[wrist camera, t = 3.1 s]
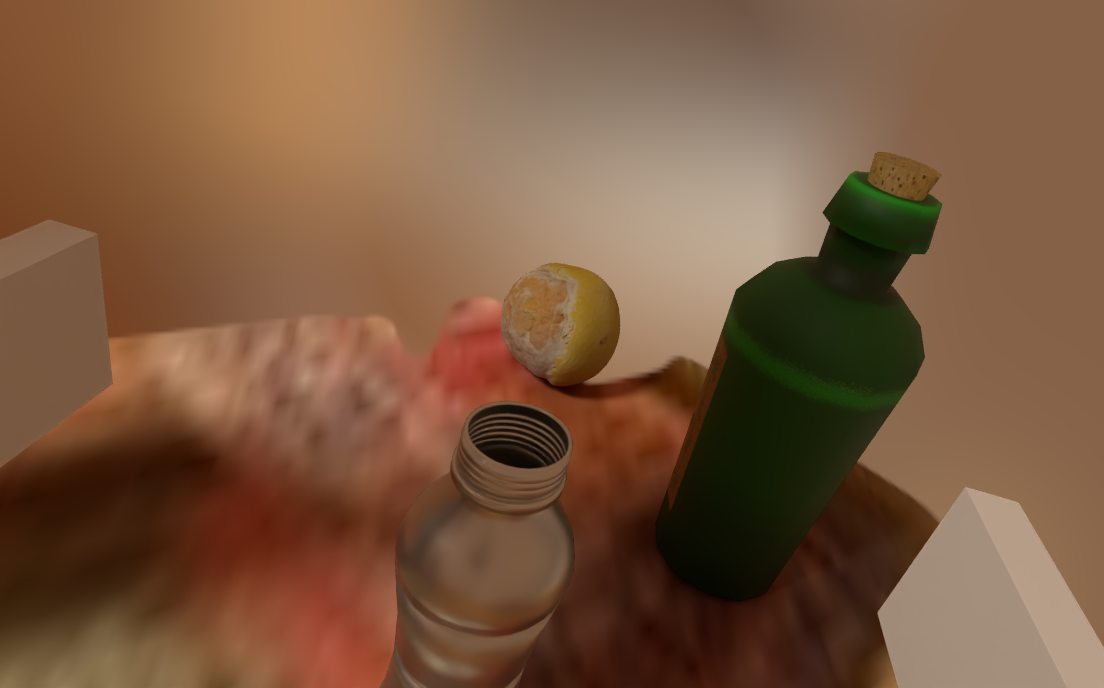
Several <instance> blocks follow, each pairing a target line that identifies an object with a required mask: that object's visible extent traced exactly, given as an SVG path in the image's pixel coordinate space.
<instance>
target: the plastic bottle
mask: <svg viewBox="0 0 1104 688" xmlns="http://www.w3.org/2000/svg"><path fill="white" fill-rule="evenodd" d="M572 449H573V440H572V436H571V433H570V431H569V429H568V428H567V427H566V426H565V424H564V423H563V422H562V421H561V420H560V419H558V418H557V417H556V416H554V415H553V414H551V413H550V412H548V411H546V410H544V409H542V408H540V407H537V406H534V405H531V404H527V403H522V402H514V401H499V402H492V403H488V404H485V405H482V406H480V407H478V408H477V409H475V410H474V411H473V412H471V413H470V415H469V416H468V417H467V419H466V421H465V423H464V425H463V428H462V432H461V437H460V441H459V444H458V446H457V447H456V449H455V451H454V454H453V457H452V461H451V465H450V472H449V473H448V474H446V475H444V476H443V477H441V478H440V479H439V480H437V481H436V482H434V483H433V484H432V485H430V486H429V487H428V488H426V489H425V490H424V491H423V492H422V493H421V494H420V495H419V496H418V497H417V498H416V500H415V501H414V503H413V504H412V506H411V507H410V509H409V510H408V512H407V514H406V515H405V517H404V519H403V520H402V522H401V525H400V527H399V530H398V533H397V540H396V555H395V567H396V569H395V572H396V592H397V611H398V614H397V624H396V634H395V646H394V651H393V654H392V658H391V661H390V664H389V667H388V670H387V673H386V677H385V679H384V681H383V683H382V684H381V686H380V688H519V684H520V679H521V675H522V673H523V671H524V668H525V665H526V664H527V661H528V659H529V657H530V654H531V652H532V650H533V647H534V645H535V642H536V641H537V639H538V637H539V636H540V634H541V632H542V631H543V629H544V627H545V626H546V624H547V622H548V621H549V619H550V617H551V616H552V614H553V612H554V611H555V609H556V607H557V606H558V604H559V602H560V601H561V599H562V598H563V595H564V593H565V591H566V589H567V587H568V585H569V582H570V579H571V577H572V574H573V571H574V560H575V553H574V539H573V533H572V528H571V525H570V523H569V521H568V518H567V516H566V514H565V511H564V509H563V507H562V505H561V502H560V500H559V497H560V495H561V493H562V491H563V488H564V485H565V482H566V475H567V473H566V470H567V467H568V464H569V461H570V458H571V456H572Z"/></svg>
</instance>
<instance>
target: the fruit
mask: <svg viewBox="0 0 1104 688" xmlns="http://www.w3.org/2000/svg"><path fill="white" fill-rule="evenodd" d="M501 330H502V335H503V337H504V341H505V343H506V346H507V348H508V350H509V352H510V354H512V356H513V357H514V358H515V359H517V360H518V362H519V363H520V364H521V365H522V366H524V367H526V368H527V369H528V370H530V371H531V372H532V373H533V374H534V375H535V376H537V377H540V378H545V379H547V380H548V381H549V382H550V383H551V384H552V385H554V386H570V385H575V384H578V383H581V382H584V381H586V380H589V379H590V378H592V377H594V376H595V375H596V374H598V373H599V372H600V371H601V370H602V369H603V368H604V367H605V366H606V365H607V363H608V362H609V360H610V359H611V357H612V355H613V353H614V351H615V348H616V346H617V343H618V339H619V333H620V315H619V308H618V304H617V301H616V298H615V295H614V293H613V291H612V289H611V288H610V287H609V286H608V285H607V283H606V282H605V281H603V279H601V278H600V277H599V276H598V275H596V274H595V273H593V272H591V271H589V270H586V269H583V268H580V267H575V266H570V265H565V264H559V263H549V264H545V265H542V266H541V267H539V268H537V269H536V270H534V271H531V272H529V273H526V274H525V275H524V276H523V277H522V278H520V279H519V280H518V281H517V282H516V283H515V284H514V286H513V287H512V289H511V290H510V292H509V293H508V294H507V295H506V298H505V300H504V305H503V311H502V316H501Z"/></svg>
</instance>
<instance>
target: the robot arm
mask: <svg viewBox="0 0 1104 688" xmlns="http://www.w3.org/2000/svg"><path fill="white" fill-rule="evenodd" d="M112 384H113V382H112V372H111V362H110V353H109V343H108V334H107V324H106V314H105V306H104V296H103V286H102V276H101V266H100V257H99V248H98V237H97V233H93V232H90V231H87V230H83V229H80V228H76V227H73V226H69V225H66V224H63V223H59V222H55V221H52V220H47V221H44V222H42V223H39V224H37V225H35V226H32V227H30V228H28V229H25V230H23V231H20V232H18V233H16V234H13V235H11V236H8V237H6V238H4V239H1V240H0V468H1V467H2V466H3V465H5V464H6V463H7V462H9V461H10V460H11V459H13V458H14V457H15V456H17V455H18V454H19V453H21V452H22V451H23V450H25V449H26V448H27V447H29V446H30V445H31V444H33V443H34V442H35V441H37V440H38V439H39V438H41V437H42V436H43V435H45V434H46V433H47V432H49V431H50V430H51V429H53V428H54V427H55V426H57V425H58V424H59V423H61V422H62V421H63V420H65V419H66V418H68V417H69V416H70V415H72V414H73V413H74V412H76V411H77V410H78V409H80V408H81V407H82V406H84V405H85V404H86V403H88V402H89V401H90V400H92V399H93V398H94V397H96V396H97V395H98V394H100V393H101V392H102V391H104V390H105V389H106V388H108V387H109V386H110V385H112ZM878 617H879V620H880V624H881V628H882V631H883V635H884V638H885V642H886V646H887V649H888V653H889V656H890V660H891V664H892V667H893V671H894V675H895V678H896V682H897V685H898V688H1104V647H1103V646H1102V644H1101V642H1100V640H1099V639H1098V637H1097V635H1096V634H1095V632H1094V630H1093V628H1092V627H1091V625H1090V624H1089V622H1088V620H1087V618H1086V617H1085V615H1084V613H1083V611H1082V610H1081V608H1080V606H1079V605H1078V603H1077V601H1076V600H1075V598H1074V597H1073V594H1072V593H1071V591H1070V589H1069V588H1068V586H1067V584H1066V582H1065V581H1064V579H1063V577H1062V576H1061V574H1060V572H1059V571H1058V569H1057V567H1056V565H1055V564H1054V562H1053V560H1052V559H1051V557H1050V555H1049V554H1048V552H1047V550H1046V548H1045V547H1044V545H1043V543H1042V542H1041V540H1040V538H1039V537H1038V535H1037V533H1036V531H1035V530H1034V528H1033V526H1032V525H1031V523H1030V521H1029V519H1028V518H1027V516H1026V514H1025V513H1024V511H1023V509H1022V508H1021V506H1020V504H1019V503H1018V502H1016V501H1012V500H1008V499H1005V498H1002V497H998V496H995V495H992V494H988V493H984V492H981V491H978V490H974V489H971V488H968V487H965V488H964V489H963V491H962V492H961V494H960V495H959V497H958V498H957V499H956V501H955V502H954V504H953V505H952V507H951V508H950V509H949V511H948V512H947V514H946V515H945V517H944V518H943V519H942V521H941V522H940V524H939V525H938V527H937V528H936V530H935V531H934V532H933V534H932V535H931V537H930V538H929V540H928V541H927V542H926V544H925V545H924V547H923V548H922V550H921V551H920V552H919V554H918V555H917V557H916V558H915V560H914V561H913V563H912V564H911V565H910V567H909V568H908V570H907V571H906V573H905V574H904V575H903V577H902V578H901V580H900V581H899V583H898V584H897V585H896V587H895V588H894V590H893V591H892V593H891V594H890V596H889V597H888V598H887V600H886V601H885V603H884V604H883V606H882V607H881V608H880V610H879V611H878Z"/></svg>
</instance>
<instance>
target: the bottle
mask: <svg viewBox="0 0 1104 688" xmlns="http://www.w3.org/2000/svg"><path fill="white" fill-rule="evenodd" d="M940 176H941V174H940V173H939V172H938V171H936V170H935V169H933V168H931V167H928V166H926V165H924V164H922V163H920V162H917V161H914V160H911V159H909V158H906V157H902V156H898V155H895V154H891V153H884V152H877V153H875V155H874V159H873V162H872V166H871V169H870V172H859V171H855V172H853V173H851V174H850V175H849V176H848V178H847V179H846V180H845V182H844V183H843V185H842V186H841V188H840V189H839V190H838V192H837V193H836V194H835V196H834V197H833V199H832V200H831V202H830V203H829V204H828V205H827V207H826V208H825V210H824V211H823V214H824V215H825V217H826V218H827V219H828V221H829V222H830V225H829V228H828V231H827V234H826V236H825V239H824V242H823V245H822V247H821V250H820V253H819V256H818V257H801V258H795V259H789V260H784V261H778V262H775V263H774V264H772V265H771V266H769V267H768V268H766V269H765V270H763V271H762V272H760V273H759V274H757V275H756V276H754V277H753V278H751V279H750V280H748V281H747V282H746V283H745V284H743V285H742V286H740V287H739V288H738V289H737V290H736V292H735V295H734V297H733V301H732V303H731V306H730V309H729V312H728V315H727V318H726V321H725V323H724V326H723V329H722V332H721V335H720V338H719V341H718V344H717V347H716V350H715V353H714V355H713V358H712V361H711V364H710V367H709V370H708V373H707V376H706V379H705V381H704V384H703V387H702V390H701V393H700V396H699V399H698V402H697V405H696V408H695V410H694V413H693V416H692V419H691V422H690V425H689V428H688V431H687V434H686V437H685V439H684V442H683V445H682V448H681V451H680V454H679V457H678V460H677V463H676V466H675V468H674V471H673V474H672V477H671V480H670V483H669V486H668V489H667V492H666V495H665V497H664V500H663V503H662V506H661V509H660V512H659V515H658V518H657V521H656V534H657V547H658V548H659V550H660V551H661V553H662V554H663V556H664V557H665V559H666V560H667V561H668V563H669V564H670V566H671V567H672V569H673V570H674V572H675V573H676V574H678V575H679V576H681V577H682V578H684V579H685V580H687V581H688V582H690V583H691V584H693V585H694V586H696V587H697V588H699V589H700V590H702V591H703V592H705V593H707V594H711V595H716V596H720V597H725V598H729V599H733V600H738V601H741V600H744V599H748V598H751V597H755V596H758V595H761V594H765V593H766V592H767V590H768V589H769V587H770V586H771V584H772V583H773V582H774V580H775V579H776V577H777V576H778V574H779V573H780V571H781V570H782V569H783V567H784V566H785V564H786V563H787V561H788V560H789V558H790V557H791V556H792V554H793V553H794V551H795V550H796V548H797V547H798V546H799V544H800V543H801V541H802V540H803V538H804V537H805V535H806V534H807V533H808V531H809V530H810V528H811V527H812V525H813V524H814V522H815V521H816V520H817V518H818V517H819V515H820V514H821V512H822V511H823V510H824V508H825V507H826V505H827V504H828V502H829V501H830V499H831V498H832V497H833V495H834V494H835V492H836V491H837V489H838V488H839V487H840V485H841V484H842V482H843V481H844V479H845V478H846V476H847V475H848V474H849V472H850V471H851V469H852V468H853V466H854V465H855V463H856V462H857V461H858V459H859V458H860V456H861V455H862V453H863V452H864V451H865V449H866V448H867V446H868V445H869V443H870V442H871V440H872V439H873V437H874V436H875V435H876V433H877V432H878V430H879V429H880V427H881V426H882V425H883V423H884V422H885V420H886V419H887V417H888V416H889V414H890V413H891V412H892V410H893V409H894V407H895V406H896V404H897V403H898V402H899V400H900V399H901V397H902V396H903V394H904V393H905V391H906V390H907V389H908V387H909V386H910V384H911V383H912V381H913V380H914V379H915V377H916V376H917V373H918V371H919V369H920V367H921V365H922V362H923V360H924V358H925V355H924V348H923V341H922V333H921V327H920V325H919V323H918V322H917V320H916V319H915V317H914V316H913V314H912V313H911V311H910V310H909V309H908V307H907V306H906V304H905V302H904V301H903V299H902V298H901V297H900V295H899V294H898V293H897V291H896V290H895V289H894V287H892V286H891V285H892V283H893V282H894V280H895V278H896V277H897V275H898V274H899V273H900V271H901V269H902V268H903V267H904V265H905V263H906V262H907V260H908V259H909V257H910V256H911V254H925V253H926V252H927V250H928V249H929V246H930V243H931V240H932V237H933V233H934V230H935V227H936V224H937V220H938V217H939V214H940V210H941V207H942V203H940V202H939V201H938V200H937V199H936V198H935V197H934V196H932V195H930V194H928V193H929V191H930V190H931V189H932V187H933V186H934V185H935V183H936V182H937V181H938V179H939V178H940Z"/></svg>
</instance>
